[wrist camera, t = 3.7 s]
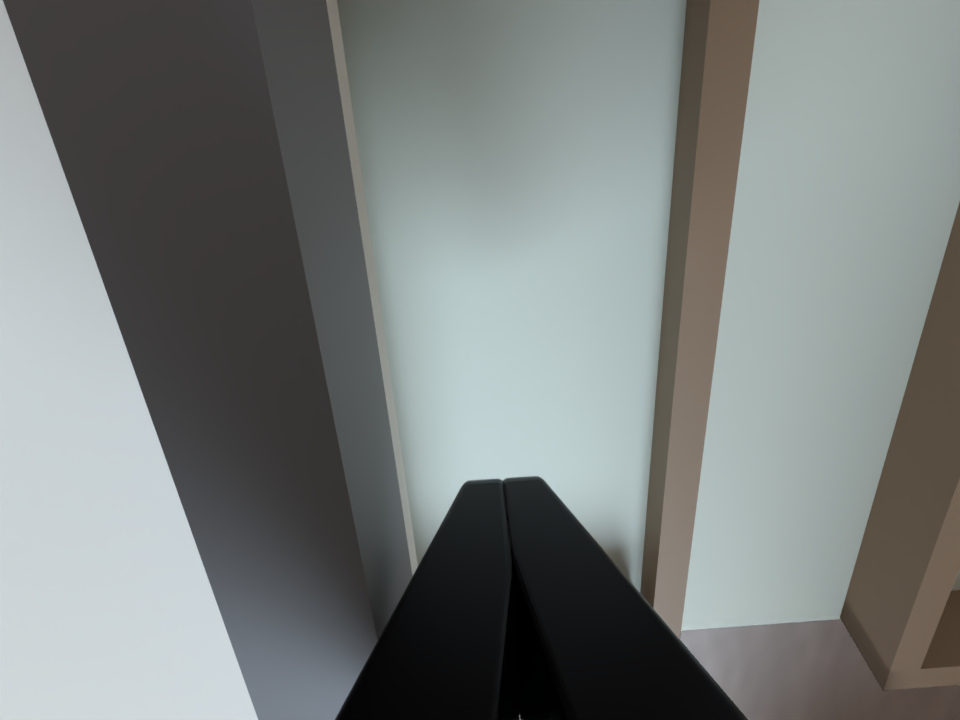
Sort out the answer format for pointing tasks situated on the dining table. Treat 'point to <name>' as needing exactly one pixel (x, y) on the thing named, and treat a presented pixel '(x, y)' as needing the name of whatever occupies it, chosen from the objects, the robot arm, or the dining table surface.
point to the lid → (189, 367)
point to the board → (685, 291)
